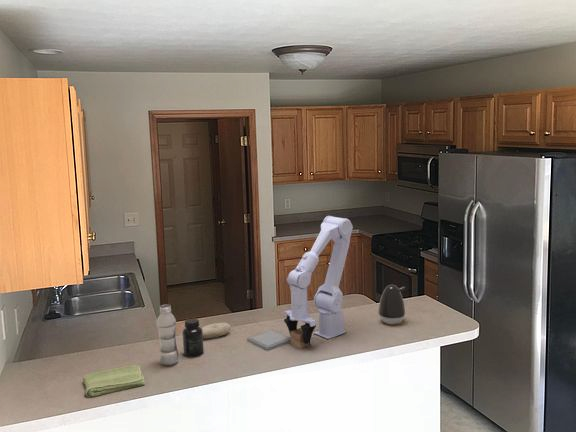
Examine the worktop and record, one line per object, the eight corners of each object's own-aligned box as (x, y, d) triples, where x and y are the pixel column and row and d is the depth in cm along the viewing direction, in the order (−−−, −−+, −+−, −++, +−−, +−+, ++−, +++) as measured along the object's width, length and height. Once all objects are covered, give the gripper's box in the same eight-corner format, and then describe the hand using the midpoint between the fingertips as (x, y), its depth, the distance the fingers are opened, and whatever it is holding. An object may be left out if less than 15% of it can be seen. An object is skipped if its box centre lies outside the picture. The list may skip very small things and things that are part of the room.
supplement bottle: (184, 350, 192) (182, 317, 189) (204, 348, 192) (202, 316, 190) (182, 358, 185) (180, 325, 183) (203, 357, 185) (201, 323, 183)
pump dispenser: (408, 326, 207) (408, 288, 204) (380, 327, 207) (380, 289, 204) (402, 317, 217) (403, 280, 214) (376, 317, 217) (376, 281, 214)
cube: (301, 340, 197) (300, 327, 196) (310, 344, 193) (310, 331, 192) (290, 344, 194) (290, 331, 193) (299, 348, 190) (299, 335, 189)
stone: (235, 327, 204) (208, 327, 196) (228, 341, 205) (202, 341, 198) (227, 319, 208) (201, 318, 200) (221, 332, 210) (195, 332, 202)
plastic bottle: (162, 369, 177) (158, 311, 174) (157, 361, 183) (152, 305, 179) (181, 364, 180) (177, 307, 176) (175, 357, 186) (172, 301, 182)
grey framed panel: (272, 332, 206) (272, 329, 205) (293, 341, 197) (293, 338, 196) (247, 340, 198) (246, 337, 198) (267, 350, 189) (267, 347, 189)
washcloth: (147, 387, 166) (146, 377, 166) (86, 400, 159) (85, 390, 159) (139, 369, 178) (138, 360, 177) (82, 382, 171) (81, 372, 170)
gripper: (277, 301, 194) (278, 337, 196) (304, 311, 183) (305, 349, 185) (292, 297, 198) (293, 332, 201) (319, 306, 187) (320, 343, 190)
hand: (300, 340), depth 193 cm, fingers open, 7 cm apart
